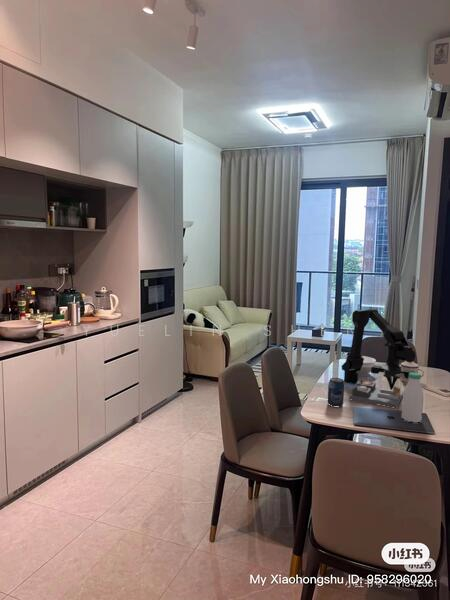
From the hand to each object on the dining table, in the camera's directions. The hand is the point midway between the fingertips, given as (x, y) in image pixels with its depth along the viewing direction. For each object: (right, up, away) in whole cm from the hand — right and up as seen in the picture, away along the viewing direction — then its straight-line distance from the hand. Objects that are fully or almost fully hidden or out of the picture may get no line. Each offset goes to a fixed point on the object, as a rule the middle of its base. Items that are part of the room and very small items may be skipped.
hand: (391, 389), depth 203 cm
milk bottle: (-1, -8, -24) cm, 25 cm away
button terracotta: (-8, -2, +11) cm, 14 cm away
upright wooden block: (+2, -3, -1) cm, 4 cm away
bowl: (-1, 0, +44) cm, 44 cm away
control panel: (-6, -5, +3) cm, 8 cm away
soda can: (-29, -6, -8) cm, 30 cm away
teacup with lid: (+23, -2, +32) cm, 39 cm away
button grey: (-14, -2, +2) cm, 14 cm away
